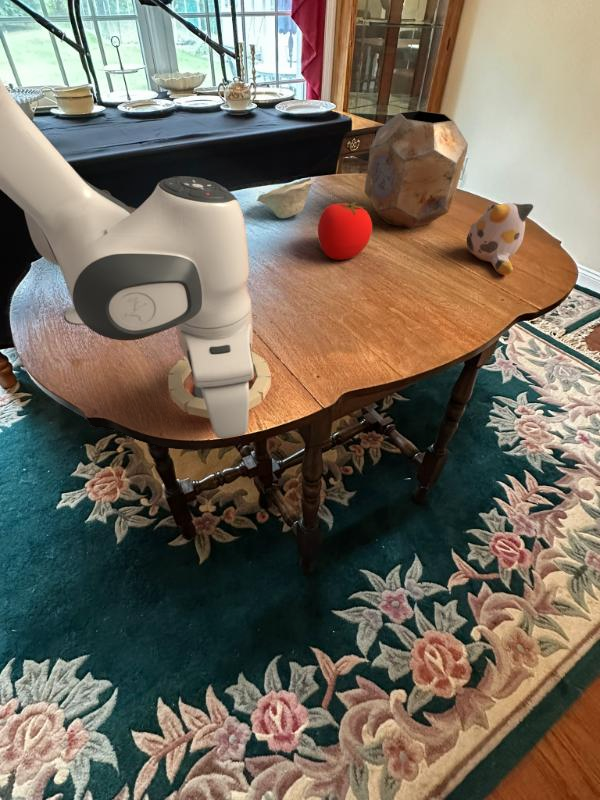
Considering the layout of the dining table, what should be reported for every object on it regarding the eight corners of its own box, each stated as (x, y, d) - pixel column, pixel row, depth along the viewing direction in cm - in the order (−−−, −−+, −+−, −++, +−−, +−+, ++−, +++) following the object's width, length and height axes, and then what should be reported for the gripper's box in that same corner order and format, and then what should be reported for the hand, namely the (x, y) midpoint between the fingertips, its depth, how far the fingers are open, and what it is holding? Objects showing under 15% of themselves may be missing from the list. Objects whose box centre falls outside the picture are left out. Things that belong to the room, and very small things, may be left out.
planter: (354, 202, 125) (366, 104, 108) (436, 203, 127) (461, 107, 110) (367, 235, 109) (383, 127, 93) (460, 236, 111) (493, 130, 94)
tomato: (304, 258, 99) (306, 207, 91) (329, 237, 108) (333, 188, 100) (353, 272, 95) (360, 220, 87) (375, 248, 104) (383, 199, 96)
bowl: (284, 201, 124) (284, 163, 117) (322, 215, 117) (325, 176, 110) (246, 215, 115) (244, 175, 108) (285, 231, 109) (286, 190, 102)
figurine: (504, 234, 107) (536, 185, 93) (519, 292, 101) (556, 249, 87) (456, 235, 107) (481, 186, 93) (469, 293, 101) (498, 250, 87)
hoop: (172, 425, 59) (169, 417, 58) (168, 360, 70) (167, 352, 69) (279, 409, 62) (279, 400, 61) (260, 349, 73) (260, 341, 72)
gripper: (182, 285, 57) (196, 365, 67) (194, 387, 43) (209, 469, 53) (230, 281, 59) (236, 359, 68) (256, 379, 45) (260, 460, 54)
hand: (225, 408), depth 61 cm, fingers closed on hoop, 2 cm apart
